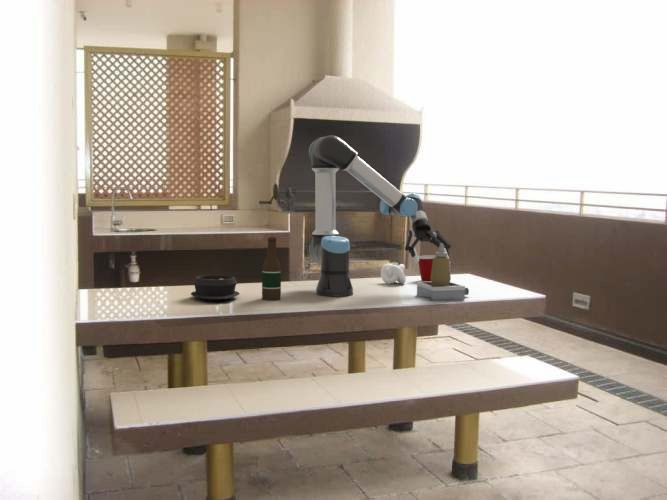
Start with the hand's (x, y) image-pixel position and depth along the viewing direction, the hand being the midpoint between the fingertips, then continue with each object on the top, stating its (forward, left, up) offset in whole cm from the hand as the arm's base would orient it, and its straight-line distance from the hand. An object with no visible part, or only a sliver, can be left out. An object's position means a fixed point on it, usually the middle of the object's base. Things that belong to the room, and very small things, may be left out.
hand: (432, 262), depth 280 cm
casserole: (-89, +5, -14) cm, 90 cm away
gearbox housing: (+2, -8, -13) cm, 16 cm away
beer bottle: (-68, 0, -14) cm, 69 cm away
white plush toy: (-4, +34, -14) cm, 37 cm away
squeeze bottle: (0, -8, -10) cm, 13 cm away
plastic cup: (+16, +40, -14) cm, 45 cm away
